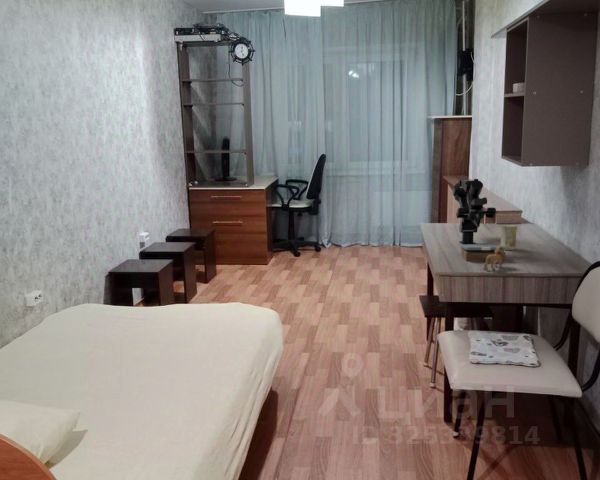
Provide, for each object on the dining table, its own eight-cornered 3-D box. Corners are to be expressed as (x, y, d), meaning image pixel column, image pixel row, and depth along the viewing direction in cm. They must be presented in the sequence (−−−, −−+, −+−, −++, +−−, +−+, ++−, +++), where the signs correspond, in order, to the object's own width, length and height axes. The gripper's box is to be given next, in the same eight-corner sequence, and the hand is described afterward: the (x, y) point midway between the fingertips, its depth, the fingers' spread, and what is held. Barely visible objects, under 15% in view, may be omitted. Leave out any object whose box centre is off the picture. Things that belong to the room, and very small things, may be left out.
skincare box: (504, 250, 290) (506, 226, 287) (499, 248, 294) (501, 225, 291) (515, 249, 291) (517, 225, 289) (510, 247, 296) (511, 224, 293)
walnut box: (460, 254, 284) (460, 247, 283) (497, 254, 283) (497, 246, 282) (466, 261, 272) (466, 253, 271) (504, 260, 271) (505, 252, 270)
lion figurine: (495, 263, 266) (496, 245, 264) (506, 265, 263) (507, 246, 261) (481, 270, 256) (481, 251, 254) (492, 272, 252) (493, 252, 250)
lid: (460, 247, 283) (461, 244, 283) (497, 246, 282) (497, 244, 282) (467, 250, 270) (467, 247, 270) (505, 249, 269) (505, 247, 269)
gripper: (458, 191, 285) (462, 217, 277) (496, 191, 284) (501, 217, 276) (454, 204, 295) (458, 230, 287) (491, 204, 294) (495, 229, 286)
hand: (478, 226), depth 284 cm, fingers closed
